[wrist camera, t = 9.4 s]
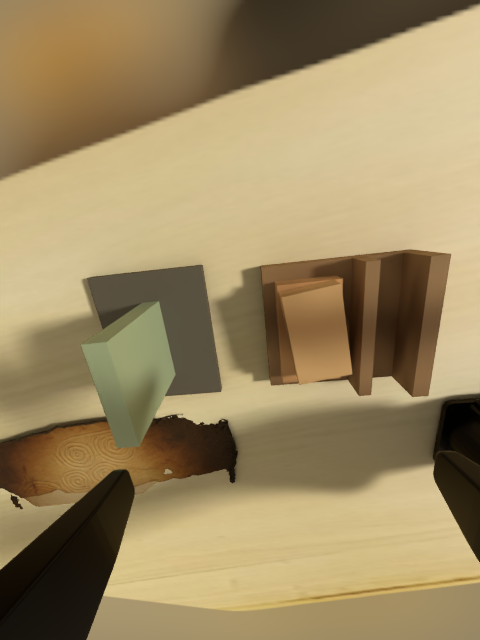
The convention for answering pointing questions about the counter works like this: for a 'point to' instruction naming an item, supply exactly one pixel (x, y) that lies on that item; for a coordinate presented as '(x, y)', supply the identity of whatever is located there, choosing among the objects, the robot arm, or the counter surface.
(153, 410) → the block
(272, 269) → the rack
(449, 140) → the counter surface
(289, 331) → the offcut upper
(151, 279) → the mat
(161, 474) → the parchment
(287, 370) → the offcut lower
